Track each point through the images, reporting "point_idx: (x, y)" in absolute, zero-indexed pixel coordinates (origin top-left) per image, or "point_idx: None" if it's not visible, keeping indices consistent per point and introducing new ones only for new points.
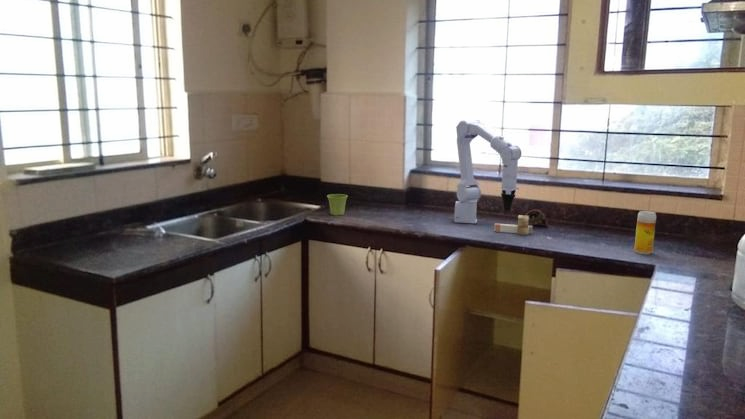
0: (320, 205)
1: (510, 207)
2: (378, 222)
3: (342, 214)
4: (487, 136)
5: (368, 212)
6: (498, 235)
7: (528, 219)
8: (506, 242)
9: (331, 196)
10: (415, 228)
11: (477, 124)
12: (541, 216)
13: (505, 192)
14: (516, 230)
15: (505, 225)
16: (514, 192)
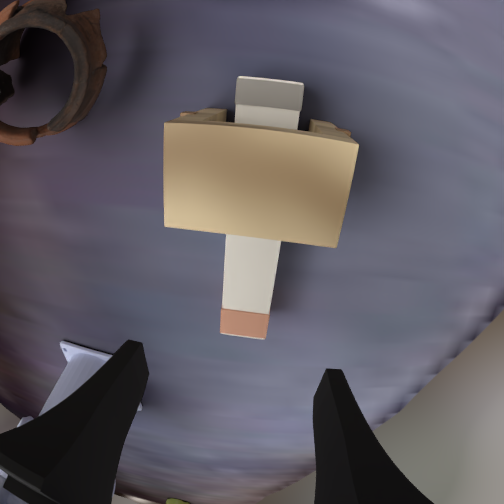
0: (126, 494)
1: (353, 399)
2: (222, 490)
3: (182, 501)
4: None
5: (136, 480)
6: (364, 301)
7: (357, 143)
8: (493, 276)
9: None
10: (268, 468)
11: None
12: (49, 13)
13: (100, 501)
14: None
15: (269, 286)
16: (56, 475)
